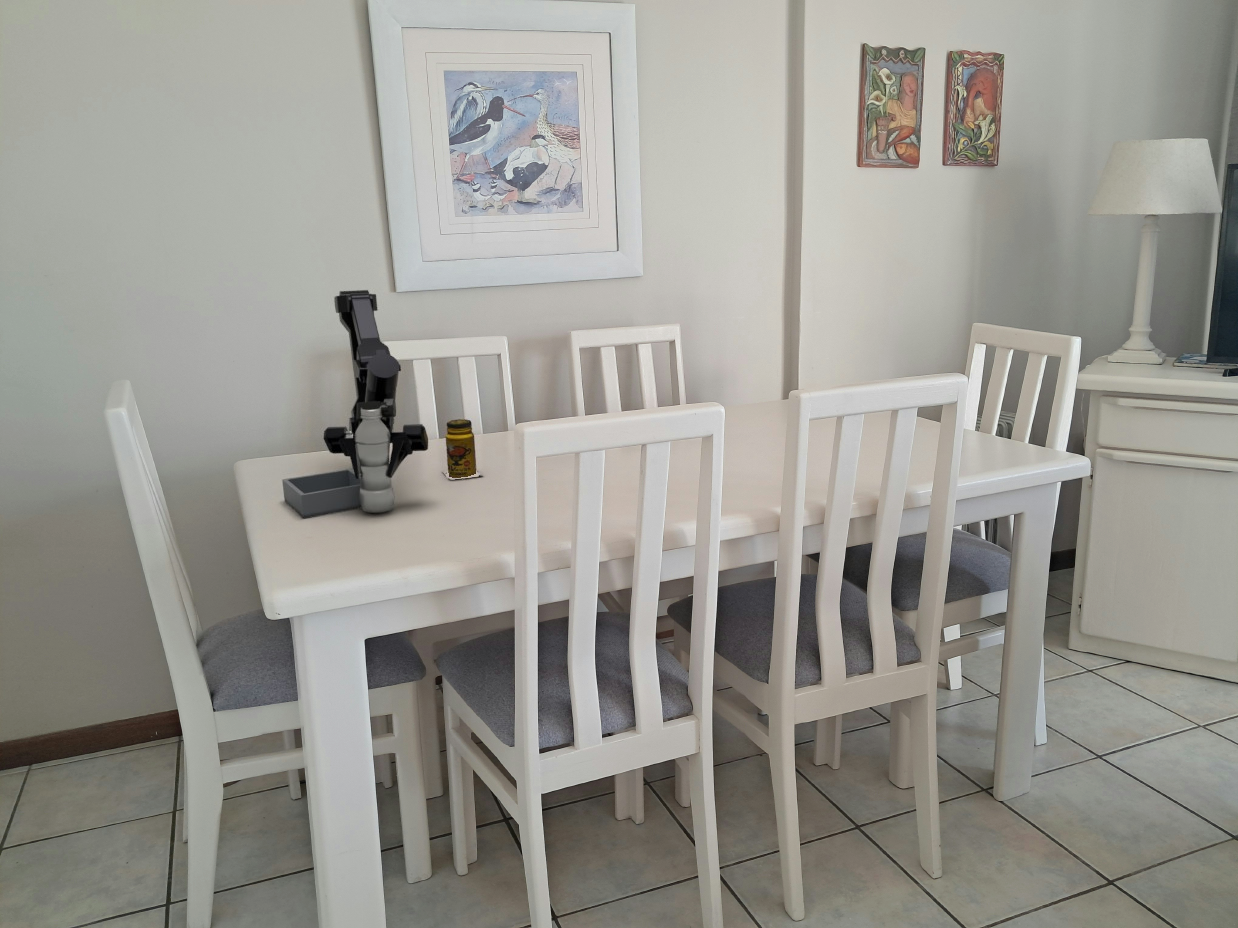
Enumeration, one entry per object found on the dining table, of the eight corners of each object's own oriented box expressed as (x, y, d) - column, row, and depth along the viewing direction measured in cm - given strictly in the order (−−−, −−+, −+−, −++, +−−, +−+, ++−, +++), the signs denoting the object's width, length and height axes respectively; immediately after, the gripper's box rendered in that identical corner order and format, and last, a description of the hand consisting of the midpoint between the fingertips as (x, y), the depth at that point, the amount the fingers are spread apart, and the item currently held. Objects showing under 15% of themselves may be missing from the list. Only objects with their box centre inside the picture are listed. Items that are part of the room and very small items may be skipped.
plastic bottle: (378, 519, 171) (370, 413, 166) (352, 512, 175) (344, 409, 169) (403, 509, 177) (397, 407, 171) (377, 503, 180) (370, 402, 175)
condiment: (450, 481, 196) (446, 426, 192) (441, 472, 203) (437, 418, 200) (483, 477, 198) (480, 422, 195) (473, 468, 206) (470, 415, 203)
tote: (352, 489, 191) (350, 468, 190) (374, 505, 180) (372, 483, 178) (284, 501, 183) (282, 479, 182) (303, 518, 172) (301, 495, 171)
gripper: (320, 385, 173) (311, 457, 165) (421, 382, 174) (417, 453, 166) (334, 417, 183) (326, 487, 175) (430, 415, 184) (426, 483, 176)
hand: (373, 477), depth 173 cm, fingers closed on plastic bottle, 6 cm apart
